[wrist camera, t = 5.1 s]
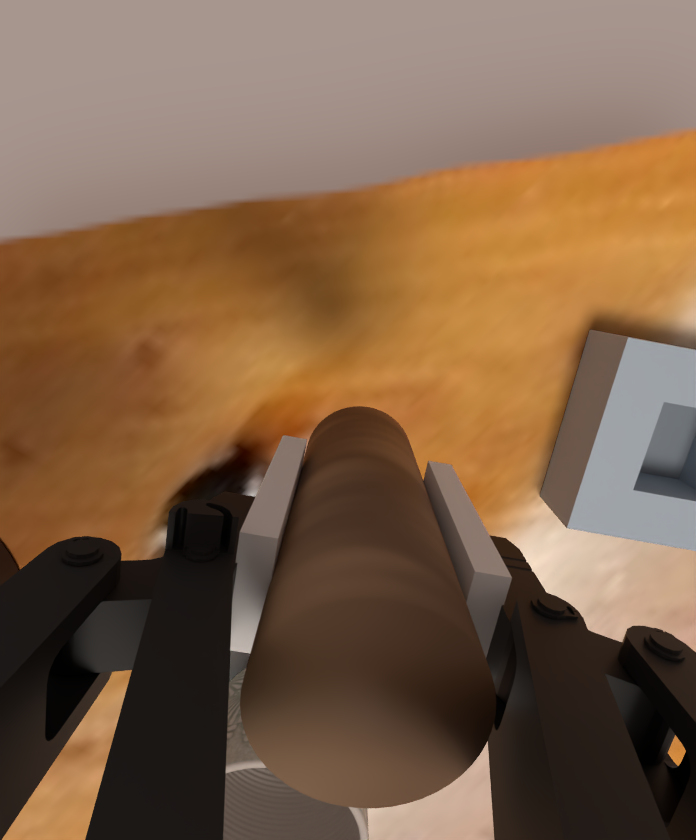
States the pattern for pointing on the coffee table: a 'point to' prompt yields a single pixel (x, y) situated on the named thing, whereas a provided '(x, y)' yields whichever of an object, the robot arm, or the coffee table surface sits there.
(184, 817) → the robot arm
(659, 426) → the socket
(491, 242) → the coffee table surface
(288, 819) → the planter
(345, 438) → the dowel
